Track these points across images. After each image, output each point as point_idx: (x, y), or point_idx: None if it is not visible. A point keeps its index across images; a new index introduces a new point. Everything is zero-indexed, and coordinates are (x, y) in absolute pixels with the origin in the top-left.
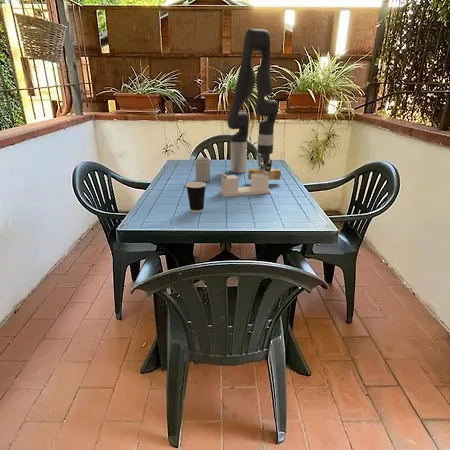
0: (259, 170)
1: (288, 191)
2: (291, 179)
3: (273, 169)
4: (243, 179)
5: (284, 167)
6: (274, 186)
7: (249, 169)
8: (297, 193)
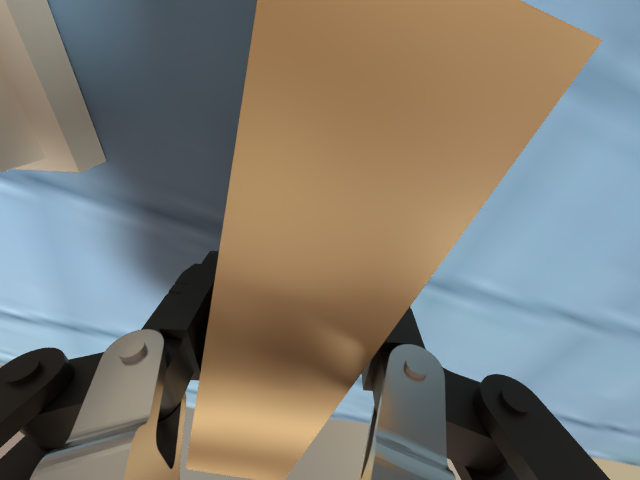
0: (236, 286)
1: (44, 312)
2: (352, 411)
3: (270, 446)
4: (619, 62)
5: (615, 459)
6: None
7: (452, 35)
8: (2, 338)
